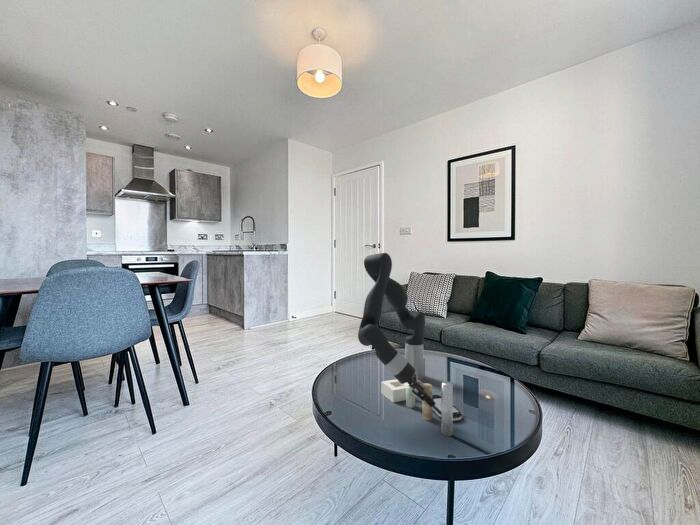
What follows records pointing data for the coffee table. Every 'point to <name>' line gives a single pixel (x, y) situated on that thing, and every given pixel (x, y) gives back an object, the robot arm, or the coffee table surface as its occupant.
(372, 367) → the coffee table surface
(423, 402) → the birch pin
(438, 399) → the gaming console
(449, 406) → the aluminium pin
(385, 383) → the socket block
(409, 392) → the sage pin
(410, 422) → the coffee table surface
